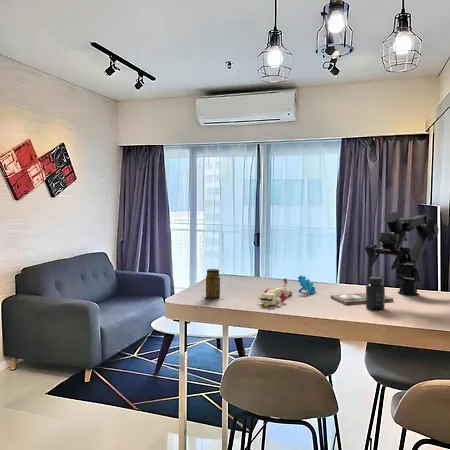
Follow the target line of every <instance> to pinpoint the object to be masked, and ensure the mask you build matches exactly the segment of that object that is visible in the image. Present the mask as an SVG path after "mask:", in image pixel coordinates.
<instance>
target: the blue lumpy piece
mask: <svg viewBox="0 0 450 450" xmlns="http://www.w3.org/2000/svg"><path fill="white" fill-rule="evenodd" d="M297 279H298V280H297V282H298V283H299V285H300V288H299V290H298V292H299V293H301V292H302V291H303V290H304V291H305V292H306V291H307V293H308V294H311V295H314V294H315V293H316V287H315V286H314V282H313V281H312V282H310V281H311V280H310V278H307V277H306V276H305V275H303V274H302V275H301V274H300V275H299V276H298V277H297Z"/></svg>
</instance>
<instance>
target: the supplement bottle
mask: <svg viewBox="0 0 450 450" xmlns="http://www.w3.org/2000/svg"><path fill="white" fill-rule="evenodd" d="M385 288H386V287H385V285H384V284H383V278H382V277H379V276H370V277H368V284H367V285H366V286H365V293H366V303H365V307H366V309H367V310H370V311H377V312H378V311H383V310H385V305H386V304H385V303H386V302H385V296H386V295H385V294H386V293H385V292H386V289H385Z"/></svg>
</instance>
